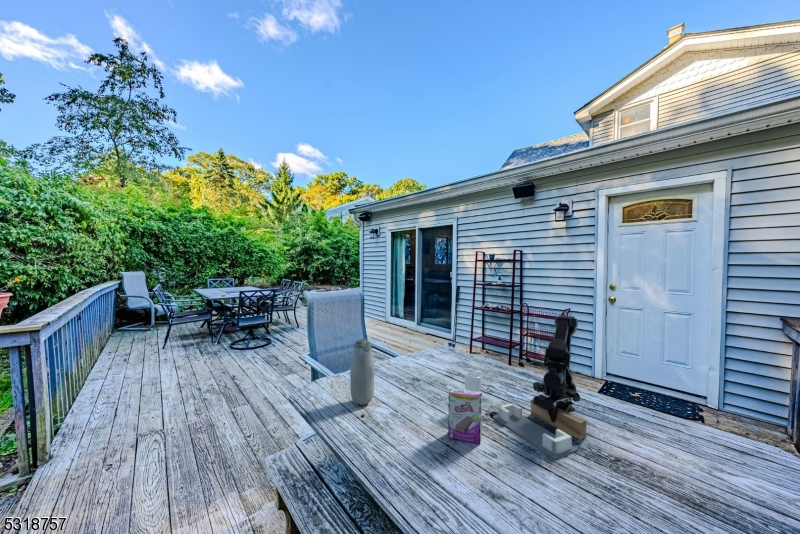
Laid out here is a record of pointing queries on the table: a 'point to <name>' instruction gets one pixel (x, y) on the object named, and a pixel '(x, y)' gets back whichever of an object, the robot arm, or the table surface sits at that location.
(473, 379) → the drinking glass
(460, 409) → the candy bar box
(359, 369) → the grey bottle
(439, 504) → the table surface
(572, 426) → the wooden block
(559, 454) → the end cap frame
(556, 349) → the robot arm
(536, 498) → the table surface
